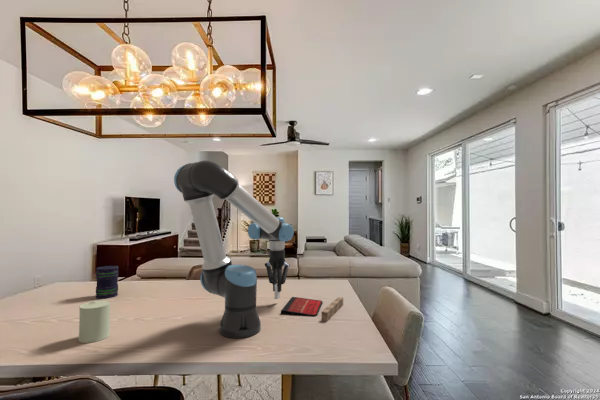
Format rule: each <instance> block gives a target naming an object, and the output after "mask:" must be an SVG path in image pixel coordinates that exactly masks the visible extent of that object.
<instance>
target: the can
mask: <svg viewBox="0 0 600 400" xmlns="http://www.w3.org/2000/svg"><path fill="white" fill-rule="evenodd" d="M110 313H111V301H109V300H95V301H93V300H92V301H88V302H86V303H82V304H80V306H79V319H78V320H79V322H78V323H79V325H78V330H79V332H78V342H79V343H82V344H86V343H87V344H88V343H89V344H90V343H95V342H99V341H102V340H104V339H105V340H106V339H107V338H108V337H109V336H110V334H111V332H110V331H111V330H110V325H111V324H110V323H111V322H110V317H111V314H110Z"/></svg>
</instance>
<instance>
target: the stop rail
mask: <svg viewBox="0 0 600 400" xmlns="http://www.w3.org/2000/svg"><path fill="white" fill-rule="evenodd" d="M343 306H344V297H341V296H337V297H336V298H335V299H334V300H333V301H332V302H331V303H330V304H329V305H327V306H326V307H325V308H324V309H323V310H322V311H321V321H322V322H323V321H324V322H328V321H329V320H330V319H331V318H332V317H333V316H334V315H335V314H336V313H337V312H338V311H339V310H340V309H341V308H342V307H343Z"/></svg>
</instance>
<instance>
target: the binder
mask: <svg viewBox="0 0 600 400" xmlns="http://www.w3.org/2000/svg"><path fill="white" fill-rule="evenodd" d="M323 303H324V302H323V301H322V300H320V299H319V300H318V299H311V298H304V297H297V296H292V297H290V298H289V301H287V302H286V303H285V305H284V306H283V307H282V309H281V310H280V315H283V314H285V313H287V314H288V315H290V316H299V317H300V316H301V317H317V316H318V315H319V311H320V309H321V306H323Z"/></svg>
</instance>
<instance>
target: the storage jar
mask: <svg viewBox="0 0 600 400" xmlns="http://www.w3.org/2000/svg"><path fill="white" fill-rule="evenodd" d="M119 272H120V271H119V266H118V265H103V266H98V267H96V273H95V274H96V275H95V276H96V277H95V278H96V286H95V295H96V296H95V299H98V300H106V299H111V298H112V299H113V298H116V297H117V296H118V295H119V293H118V292H119V284H118V283H119V282H118V280H119V279H118V278H119Z"/></svg>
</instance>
